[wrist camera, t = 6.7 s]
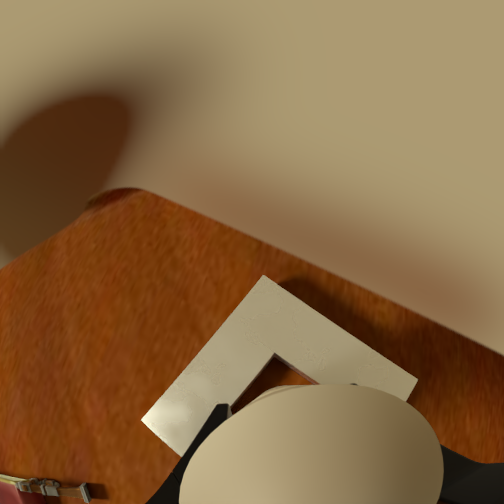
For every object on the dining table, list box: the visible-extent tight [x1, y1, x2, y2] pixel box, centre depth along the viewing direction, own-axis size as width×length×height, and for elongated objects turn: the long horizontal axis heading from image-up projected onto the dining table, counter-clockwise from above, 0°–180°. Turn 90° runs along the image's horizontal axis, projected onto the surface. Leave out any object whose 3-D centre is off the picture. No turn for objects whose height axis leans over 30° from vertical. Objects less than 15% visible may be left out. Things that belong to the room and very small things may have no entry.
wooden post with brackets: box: [15, 478, 92, 503], centre depth 14 cm, size 2×8×4 cm, turn 103°
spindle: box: [179, 384, 444, 504], centre depth 8 cm, size 4×4×13 cm
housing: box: [141, 275, 418, 457], centre depth 18 cm, size 14×14×3 cm
